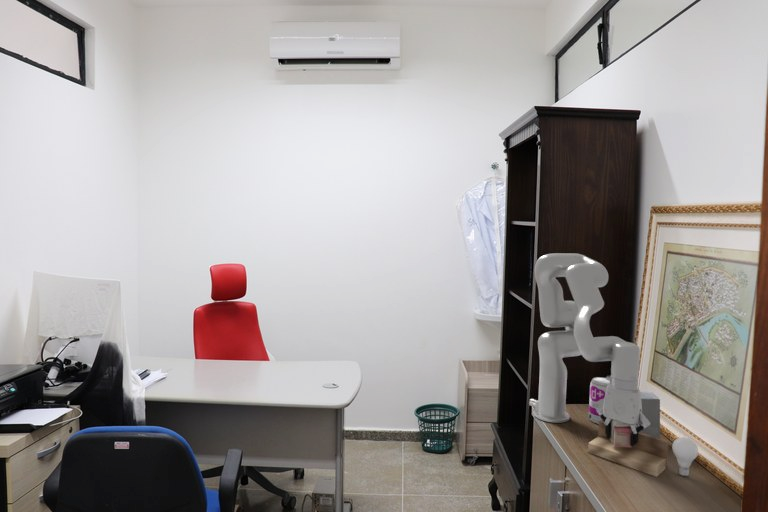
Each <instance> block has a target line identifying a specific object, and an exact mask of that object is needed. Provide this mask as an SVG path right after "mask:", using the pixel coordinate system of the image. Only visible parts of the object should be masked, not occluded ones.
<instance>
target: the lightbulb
mask: <svg viewBox="0 0 768 512" xmlns="http://www.w3.org/2000/svg"><path fill="white" fill-rule="evenodd" d="M671 446H672V448H671V449H672V453H673V454H674V456H675V457H676V461H677V467H678V469H677V471H678V472H677V473H678V474H679V475H680V476H682V477H688V476H689V474H690V467H691V465H692V463H693V461H694V460H695V459H696V458H697V457H698V455H699V449H698V445H697V444H696V442H695V441H694V440H692V439H690V438H689V437H685V436H684V437H678V438H676V439H674V441H673V442H672V445H671Z"/></svg>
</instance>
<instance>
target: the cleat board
mask: <svg viewBox="0 0 768 512" xmlns="http://www.w3.org/2000/svg"><path fill="white" fill-rule="evenodd" d="M605 430H606V425H605V424H604V421H602V420H601V421H599V424H598V433H597V434H598V435H597V437H595V438H594V439H592V440H591V441H589V442H588V445H587V453H588V454H592V455H594V456H597V457H599V458H603V459H605V460H608V461H612V462H614V463H616V462H617V464H620V465H622V466H625V467H628V468H631V469H632V470H633V469H634V470H637V471H639V472H642V473H645V474H647V475H651V476H653V477H656V478H658V477H659V476H660V474H662V473H663V472H665V470H666V469H667V468H668V459H669V456H668V455H669V443H670V442H669V440H668V439H667V440H666V439H665V438H664V439H663V438H661V437H660V438H657V437H654V436H651V435H648V434H644V433H641V432H638V443H637V444H635V445H634V446H632V447H616V446H614V445H613V443H612V442H611V438H609V439H608V438H606V434H605Z"/></svg>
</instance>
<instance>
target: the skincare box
mask: <svg viewBox="0 0 768 512" xmlns="http://www.w3.org/2000/svg"><path fill="white" fill-rule="evenodd" d="M640 394H641V401H642V413H643V415H644V416H645V417H646V418H647V419H648V421H649V422H650V423H651V424H650V425H649V426H648V427H646V428H645V429H643V430H641V431H640V432H641V433H644V434H648V435H651V436H654V437H657V438H661V399H660V398H659V397H658V396H657V395H656V394H655V393H654V392H653V391H640ZM642 424H643V422H642V421H640V422H638V425H639V426H640V425H642Z"/></svg>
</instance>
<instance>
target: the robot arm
mask: <svg viewBox="0 0 768 512" xmlns="http://www.w3.org/2000/svg"><path fill="white" fill-rule="evenodd" d="M562 277H563V278H565V280H566V283H567V286H568V288H569V291H570V293H571V296H572V298H573V300H565V299H564V291H563V287H562V285H561V283H560V282H559V280H558V279H556V278H562ZM534 278H535V281H536V285H537V289H538V302H539V303H538V304H539V313H540V314H539V316H540V321H541V323H542V324H543V326H545V327H547V328H564V329H565V330H551V331H547V332H544V333H542V334H541V335H540V336H539V337H538V340H537V348H538V349H537V350H538V356H539V378H538V379H539V380H538V381H539V383H538V398H537V399H538V400H537V399H535V398H530V399H529V403H528V404H529V406H531V407H534V409H533V410H532V411H533V412H532V414H533V416H534V417H536V418H537V419H538V420H541V421H543V422H547V423H555V424H557V423H558V424H562V423H566V422H569V420H570V414H569V413H568V412H567V411H566V403H567V401H566V399H567V383H568V382H567V380H568V369H567V366H566V364H565V363H564V361H563V358H570V357H578V356H582V358H584V359H585V360H586V361H587V362H591V363H598V362H610V361H611V367H610V375H607V376H606V377H605V378H606V380H609V381H610V384H609V385H608V386H607V389H606V393H605V398H604V405H602V406H600V407H599V408H597V409H596V411H597V412H598V414H599V415H600V417H601V419H602V420H603V421H604V424H605V425H606V430H605V434H606V438H608V439H609V438H611V420H615V421H619V422H622V423H626V424H629V425H630V426H631V429H632V433H631V435H630V445H631V446H634V445H635V444H637V443H638V432H640V431H641V430H643V429H645V428H646V427H648V426H649V425H650V424H651V423H650V422H649V421H648V419H647V418H646V417H645V416H644V415H643V413H642V401H641V394H640V392H641V390H640V389H639V374H640V373H639V372H640V355H641V350H640V349H641V348H640V347H639V345H638V344H636V343H635V342H634V343H633V342H629V341H626V340H624V339H622V338H620V337H619V336H614V335H610V336H595V337H594V336H593V334H592V331H591V327H590V321H591V317H592V315H594V314H596V313H597V312H599V311H600V310H602V309H603V308H604V306H605V301H604V299H603V297H602V295H601V292H600V290H599V288H604V287H605V286H606V285H607V284H608V282H609V273H608V270H607V269H606V267H605V266H604V265H603V264H602V263H600V262H598V261H597V260H595V259H592V258H590V257H588V256H586V255H584V254H580V253H575V252H574V253H565V252H564V253H559V252H558V253H557V252H555V253H547V254H544V255H542V256H540V257H539V258H538V259H537V260H536V262H535V265H534ZM640 421H642V422H643V424H642V425H640V426H639V425H638V422H640Z"/></svg>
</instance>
